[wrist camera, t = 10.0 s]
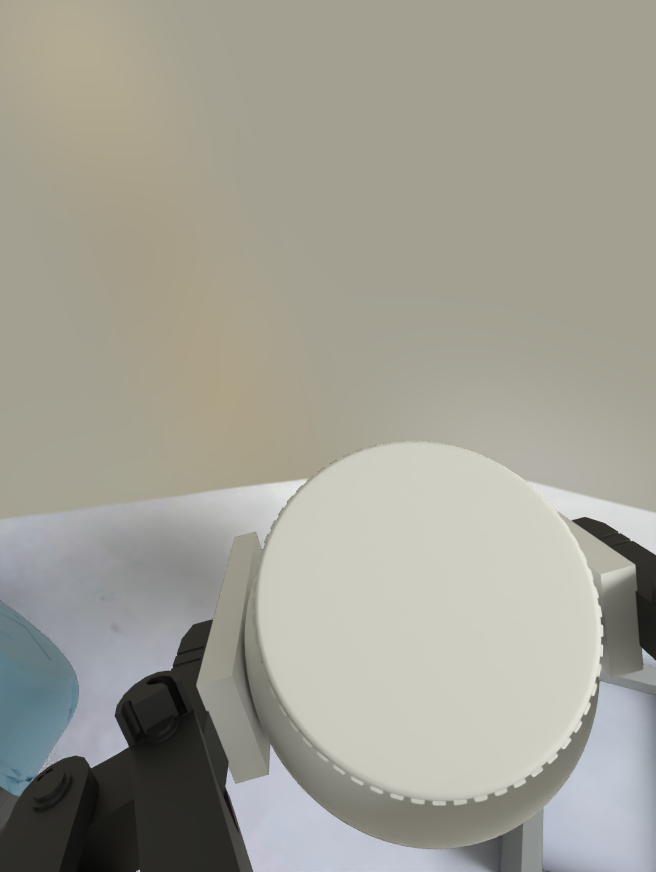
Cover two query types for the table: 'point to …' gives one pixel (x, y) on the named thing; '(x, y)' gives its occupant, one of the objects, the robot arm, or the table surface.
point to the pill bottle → (424, 644)
